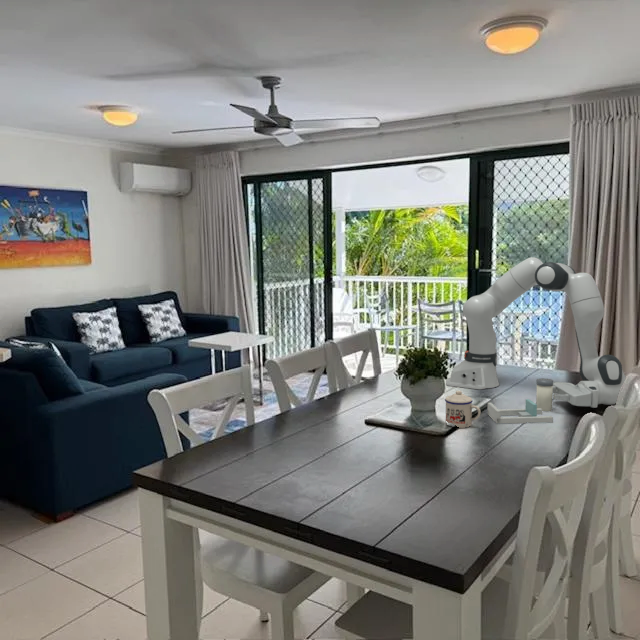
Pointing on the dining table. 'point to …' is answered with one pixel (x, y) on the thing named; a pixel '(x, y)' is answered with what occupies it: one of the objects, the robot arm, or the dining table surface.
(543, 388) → the jar
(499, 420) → the lane
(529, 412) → the pusher
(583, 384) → the robot arm
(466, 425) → the teacup with lid
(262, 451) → the dining table surface
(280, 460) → the dining table surface
